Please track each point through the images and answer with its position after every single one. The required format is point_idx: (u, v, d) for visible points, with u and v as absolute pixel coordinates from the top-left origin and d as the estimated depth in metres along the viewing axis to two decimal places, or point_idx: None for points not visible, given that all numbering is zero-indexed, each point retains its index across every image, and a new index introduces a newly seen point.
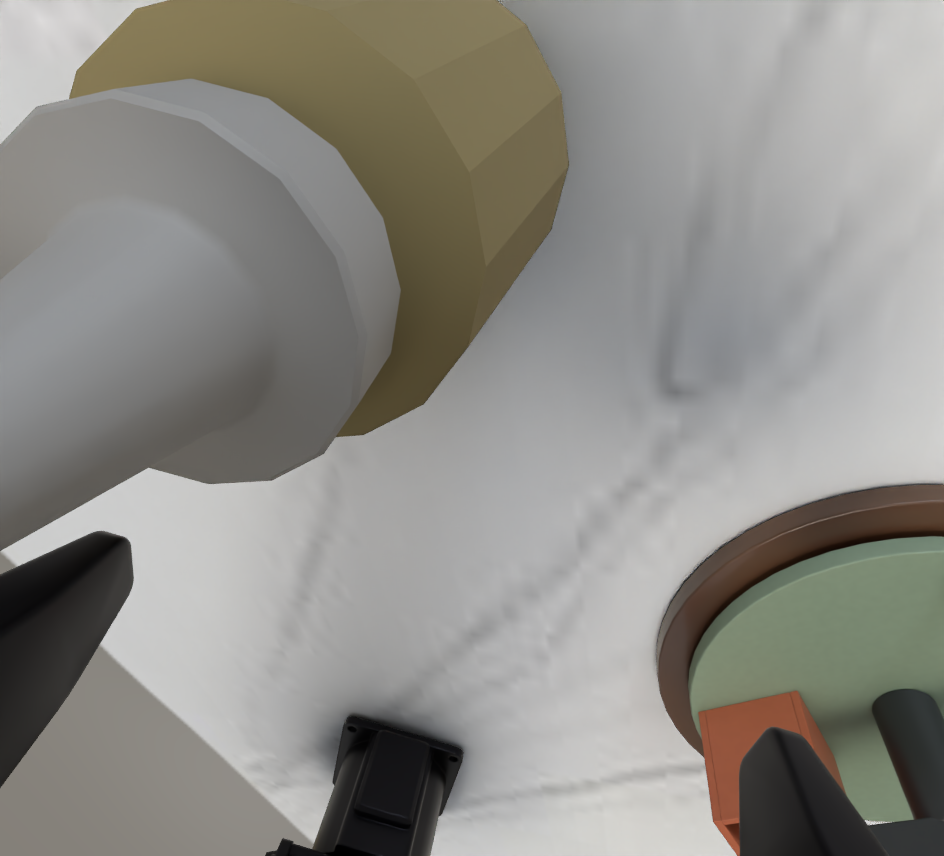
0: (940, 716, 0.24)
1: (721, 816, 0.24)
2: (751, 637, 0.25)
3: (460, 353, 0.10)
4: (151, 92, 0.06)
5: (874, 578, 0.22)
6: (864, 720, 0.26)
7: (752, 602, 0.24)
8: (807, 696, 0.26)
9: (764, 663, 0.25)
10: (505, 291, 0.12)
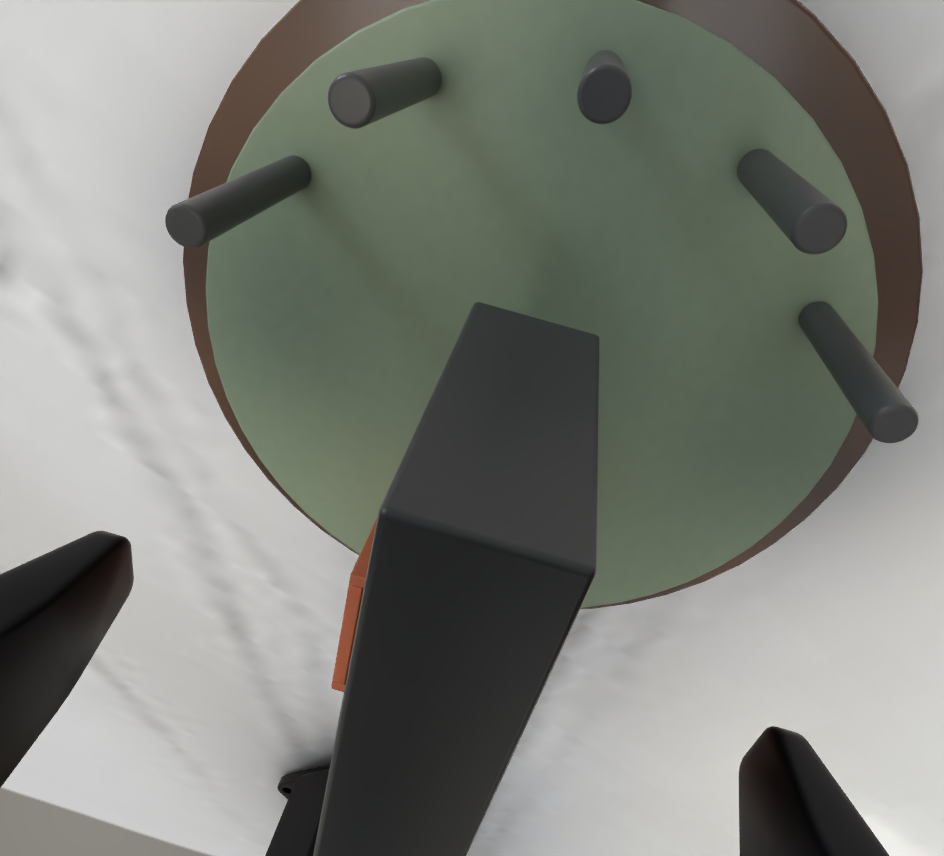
0: None
1: None
2: (283, 437, 0.18)
3: None
4: None
5: (243, 264, 0.16)
6: None
7: (229, 400, 0.18)
8: None
9: (335, 454, 0.18)
10: None
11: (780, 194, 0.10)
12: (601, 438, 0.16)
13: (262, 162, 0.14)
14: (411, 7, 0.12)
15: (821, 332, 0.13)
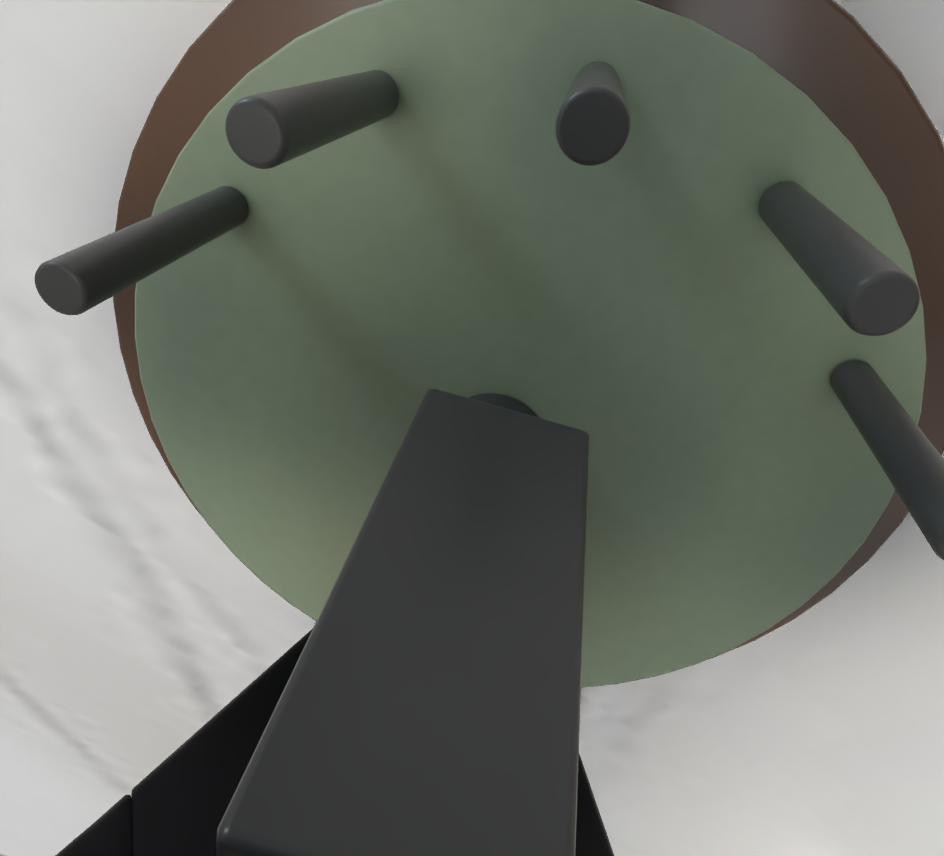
0: None
1: None
2: (232, 501, 0.16)
3: None
4: None
5: (176, 310, 0.13)
6: None
7: (170, 459, 0.15)
8: None
9: (292, 520, 0.16)
10: None
11: (822, 250, 0.08)
12: (596, 509, 0.14)
13: (191, 193, 0.12)
14: (360, 9, 0.10)
15: (861, 402, 0.10)
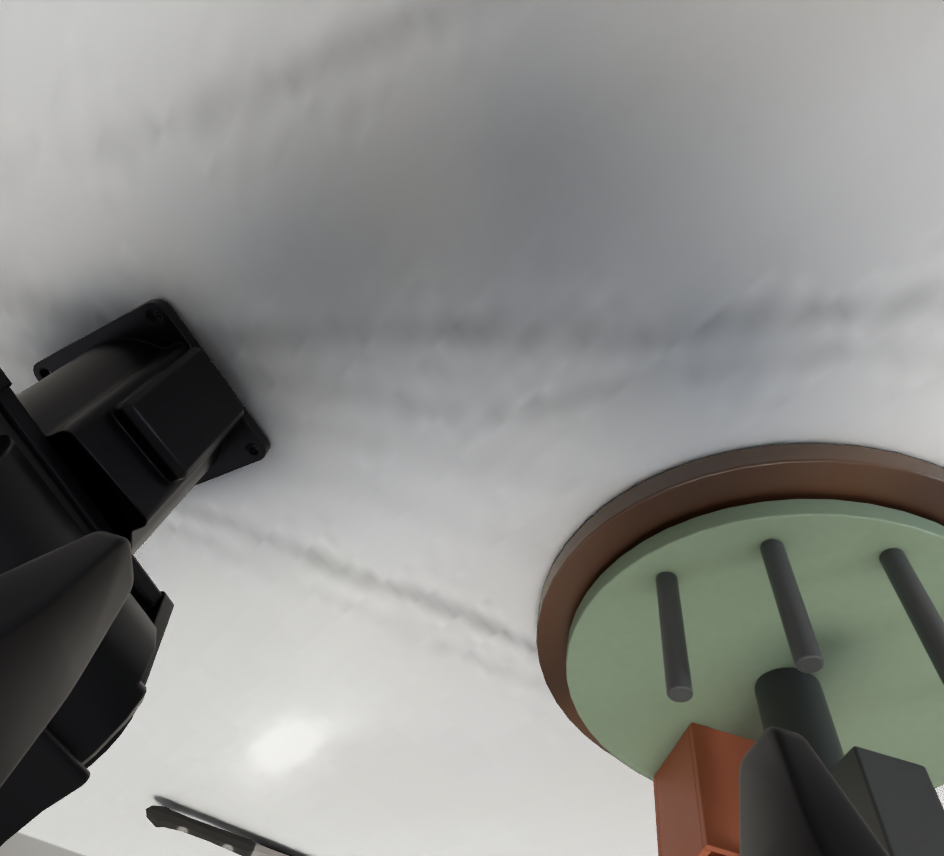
0: (796, 689, 0.22)
1: None
2: (601, 705, 0.26)
3: None
4: None
5: (610, 617, 0.23)
6: None
7: (567, 681, 0.25)
8: (705, 722, 0.25)
9: (638, 717, 0.26)
10: None
11: None
12: (840, 724, 0.24)
13: (644, 572, 0.22)
14: (772, 515, 0.20)
15: None
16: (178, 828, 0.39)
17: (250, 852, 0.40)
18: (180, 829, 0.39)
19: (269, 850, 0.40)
